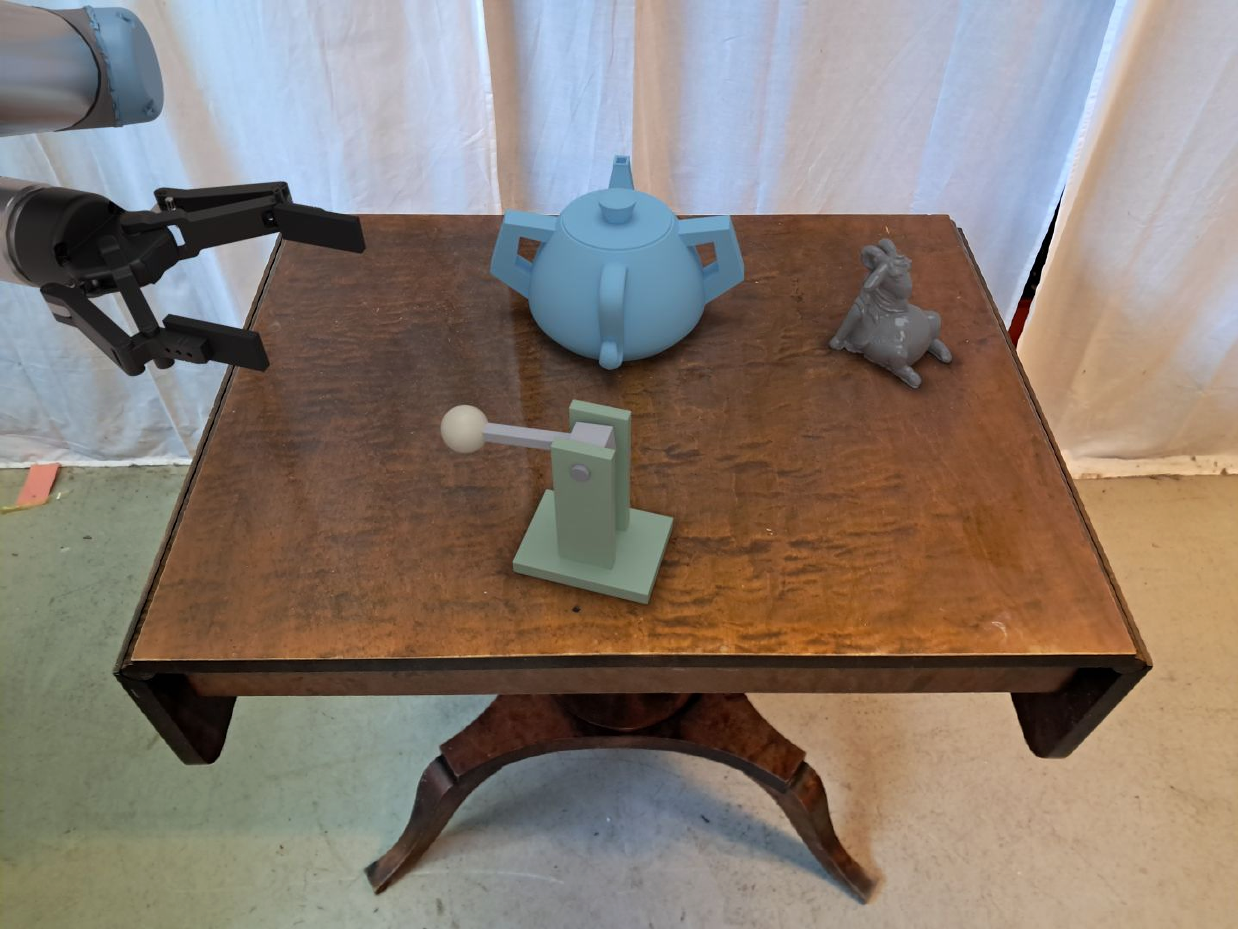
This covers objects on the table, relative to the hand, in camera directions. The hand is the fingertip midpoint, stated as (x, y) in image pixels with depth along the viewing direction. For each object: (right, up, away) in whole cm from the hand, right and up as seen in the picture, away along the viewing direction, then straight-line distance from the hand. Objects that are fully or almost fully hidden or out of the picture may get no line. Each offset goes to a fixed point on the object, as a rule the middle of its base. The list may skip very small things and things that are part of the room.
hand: (314, 290), depth 64 cm
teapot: (+21, +4, +33) cm, 39 cm away
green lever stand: (+19, -19, +12) cm, 29 cm away
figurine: (+47, 0, +29) cm, 56 cm away
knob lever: (+14, -11, +6) cm, 19 cm away
